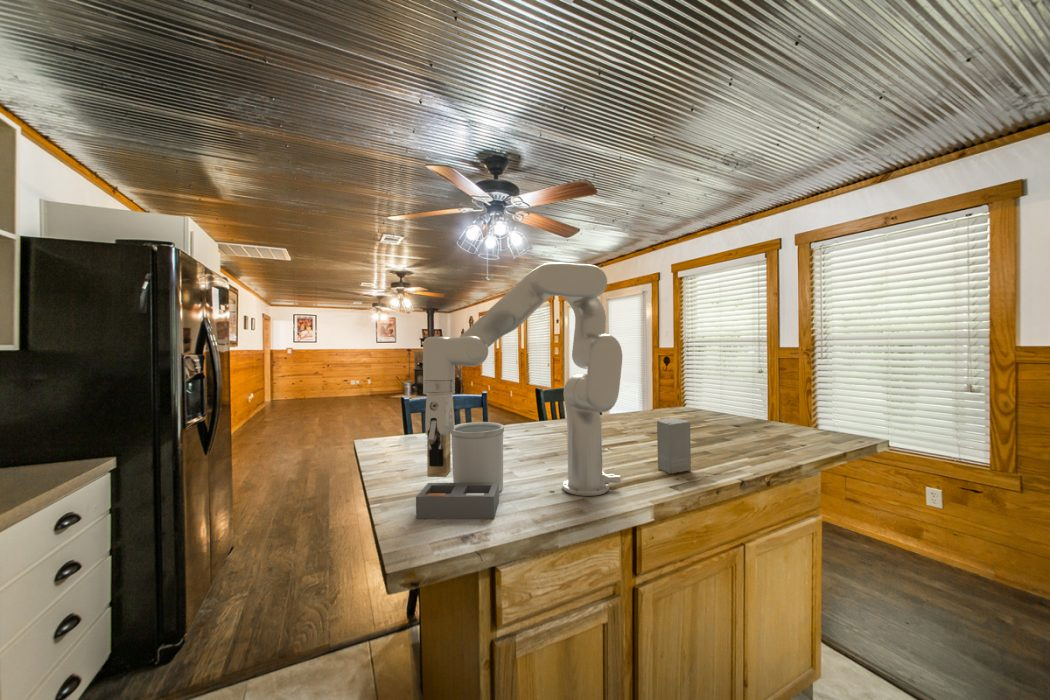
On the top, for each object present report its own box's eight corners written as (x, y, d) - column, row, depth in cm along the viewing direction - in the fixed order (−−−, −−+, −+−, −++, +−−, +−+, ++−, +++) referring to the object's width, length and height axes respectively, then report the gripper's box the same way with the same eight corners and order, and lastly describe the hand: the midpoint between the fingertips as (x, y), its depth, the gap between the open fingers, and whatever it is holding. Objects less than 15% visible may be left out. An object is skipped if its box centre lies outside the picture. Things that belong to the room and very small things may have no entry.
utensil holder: (497, 500, 101) (495, 432, 102) (442, 497, 104) (441, 430, 105) (510, 482, 116) (509, 422, 116) (462, 479, 119) (461, 421, 119)
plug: (450, 471, 98) (450, 430, 98) (446, 477, 93) (446, 434, 93) (432, 471, 98) (432, 430, 98) (427, 476, 93) (427, 434, 93)
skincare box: (677, 465, 130) (676, 417, 130) (693, 471, 123) (692, 420, 123) (655, 468, 127) (654, 419, 127) (670, 474, 120) (669, 422, 121)
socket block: (498, 502, 100) (498, 481, 100) (494, 518, 90) (493, 495, 90) (428, 502, 101) (428, 482, 101) (416, 518, 91) (415, 496, 91)
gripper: (446, 390, 87) (446, 473, 87) (461, 385, 104) (461, 454, 104) (412, 390, 88) (412, 473, 87) (433, 385, 104) (433, 454, 104)
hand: (439, 462), depth 96 cm, fingers closed on plug, 4 cm apart
